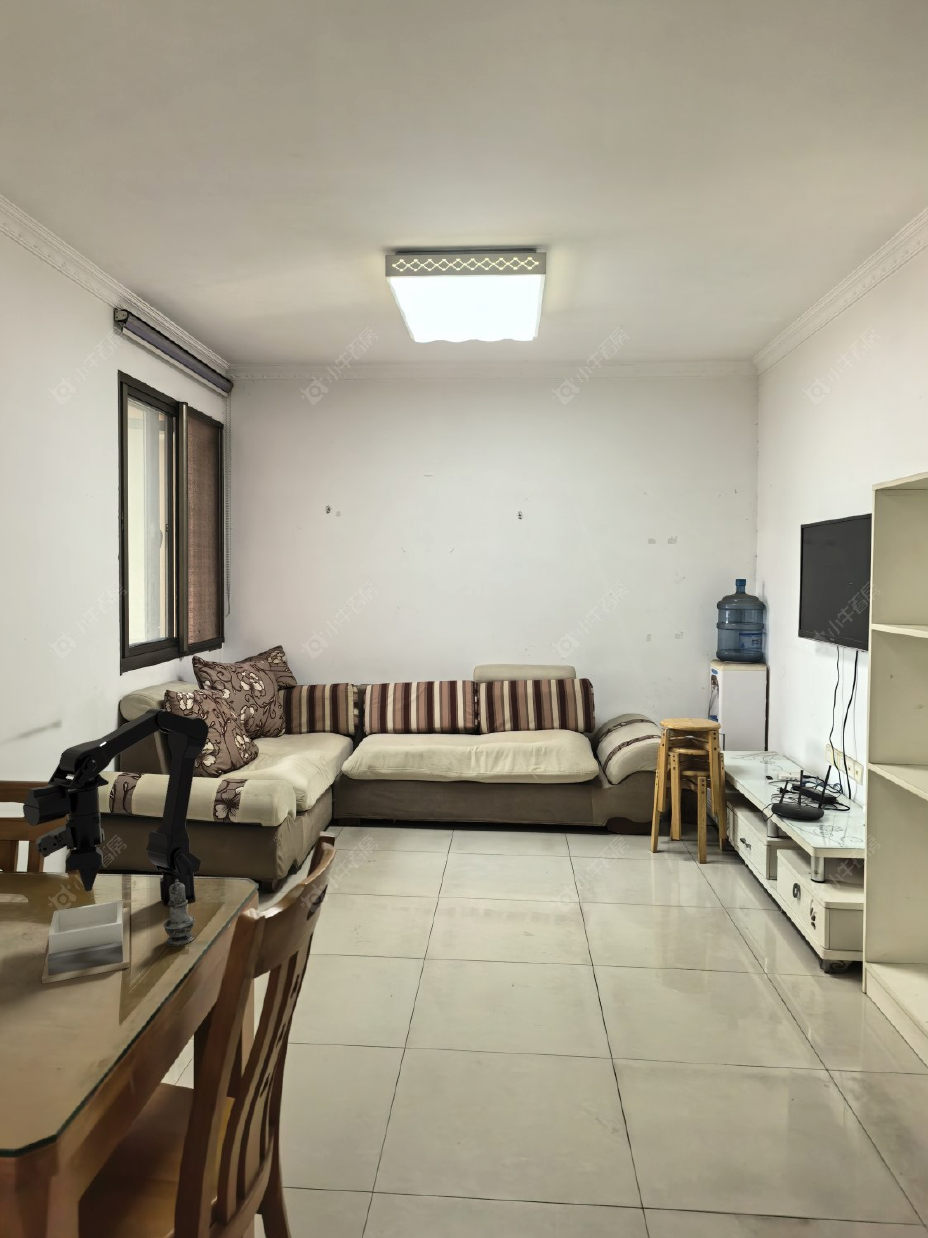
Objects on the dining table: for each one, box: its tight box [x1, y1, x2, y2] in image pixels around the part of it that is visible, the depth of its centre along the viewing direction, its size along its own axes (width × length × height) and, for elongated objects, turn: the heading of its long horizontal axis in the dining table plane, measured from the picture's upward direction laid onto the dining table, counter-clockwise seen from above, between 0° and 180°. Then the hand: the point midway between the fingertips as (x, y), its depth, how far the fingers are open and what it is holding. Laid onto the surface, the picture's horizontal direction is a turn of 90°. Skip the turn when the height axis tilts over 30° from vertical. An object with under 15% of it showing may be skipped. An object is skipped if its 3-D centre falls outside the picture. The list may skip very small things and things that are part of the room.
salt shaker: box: [162, 879, 196, 947], centre depth 160 cm, size 6×6×12 cm
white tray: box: [47, 900, 123, 954], centre depth 156 cm, size 12×12×5 cm
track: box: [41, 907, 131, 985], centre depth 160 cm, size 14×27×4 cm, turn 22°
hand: (88, 890), depth 164 cm, fingers closed
